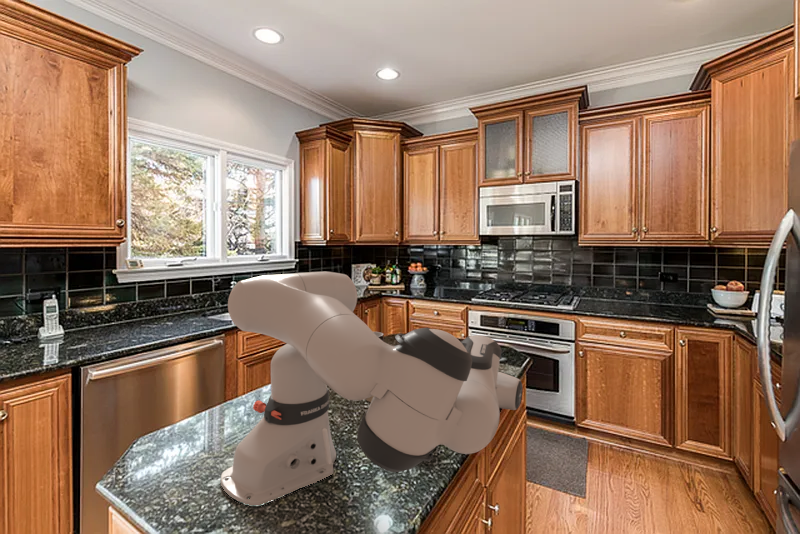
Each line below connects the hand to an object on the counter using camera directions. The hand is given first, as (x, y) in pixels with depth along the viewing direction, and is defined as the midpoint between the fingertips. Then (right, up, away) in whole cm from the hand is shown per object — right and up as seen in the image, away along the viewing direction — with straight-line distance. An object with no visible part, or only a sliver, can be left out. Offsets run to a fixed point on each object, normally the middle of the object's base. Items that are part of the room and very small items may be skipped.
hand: (423, 369), depth 114 cm
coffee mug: (-18, -5, +30) cm, 36 cm away
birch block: (-13, -8, -4) cm, 16 cm away
